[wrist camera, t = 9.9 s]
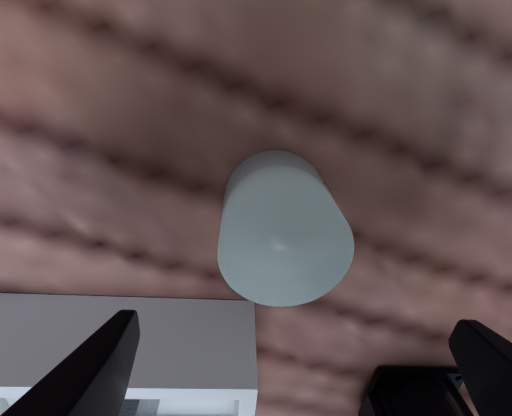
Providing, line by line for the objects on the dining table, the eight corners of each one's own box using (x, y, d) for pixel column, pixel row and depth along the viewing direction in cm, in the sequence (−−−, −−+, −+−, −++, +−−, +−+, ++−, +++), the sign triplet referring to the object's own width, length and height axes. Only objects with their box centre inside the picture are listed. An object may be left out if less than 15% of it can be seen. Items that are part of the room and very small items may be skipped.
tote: (254, 300, 19) (257, 389, 14) (243, 406, 24) (243, 499, 19) (-42, 291, 18) (-151, 385, 13) (13, 405, 23) (-50, 503, 18)
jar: (331, 153, 15) (369, 198, 10) (313, 240, 17) (339, 308, 12) (226, 146, 14) (218, 190, 10) (223, 236, 17) (215, 304, 12)
